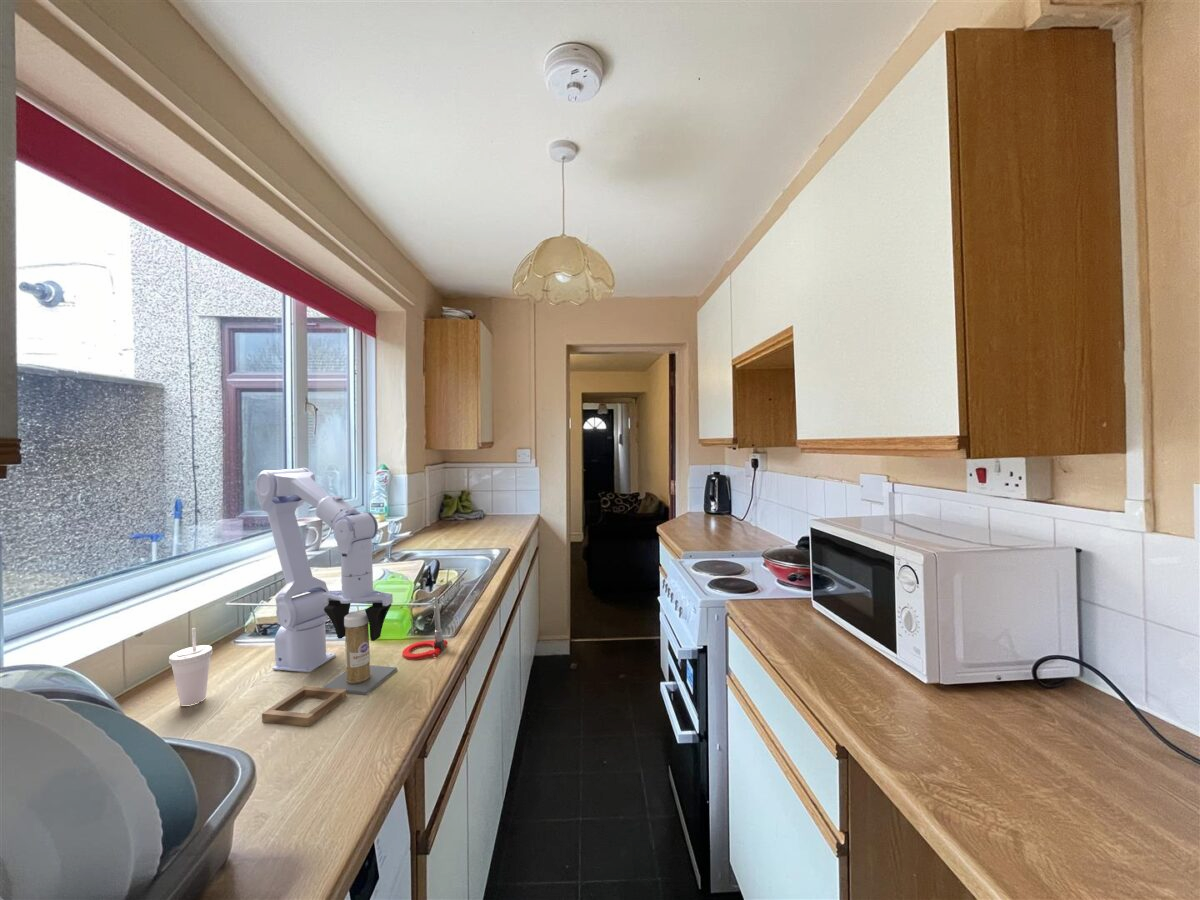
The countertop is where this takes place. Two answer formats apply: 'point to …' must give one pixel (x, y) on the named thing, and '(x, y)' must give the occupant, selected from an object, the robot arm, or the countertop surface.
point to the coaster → (366, 686)
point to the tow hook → (437, 644)
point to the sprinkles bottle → (357, 647)
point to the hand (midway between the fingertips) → (359, 637)
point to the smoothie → (191, 671)
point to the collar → (304, 719)
